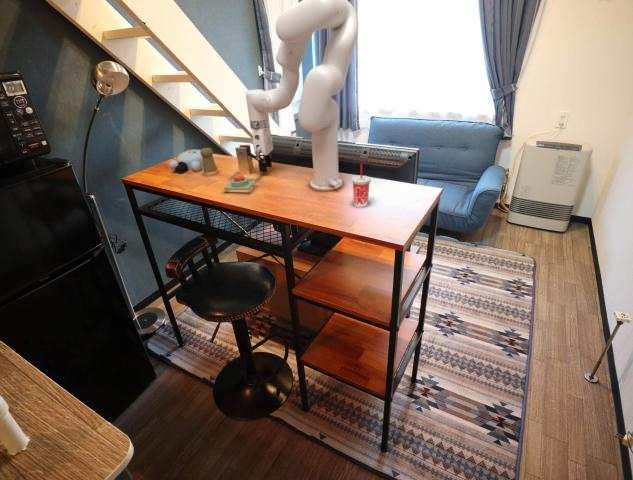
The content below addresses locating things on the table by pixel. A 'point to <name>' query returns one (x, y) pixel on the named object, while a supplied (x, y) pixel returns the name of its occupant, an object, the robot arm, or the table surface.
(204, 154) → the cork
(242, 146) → the lever
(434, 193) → the table surface
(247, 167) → the bracket
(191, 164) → the figurine
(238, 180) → the button
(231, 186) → the button block
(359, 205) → the beverage cup
